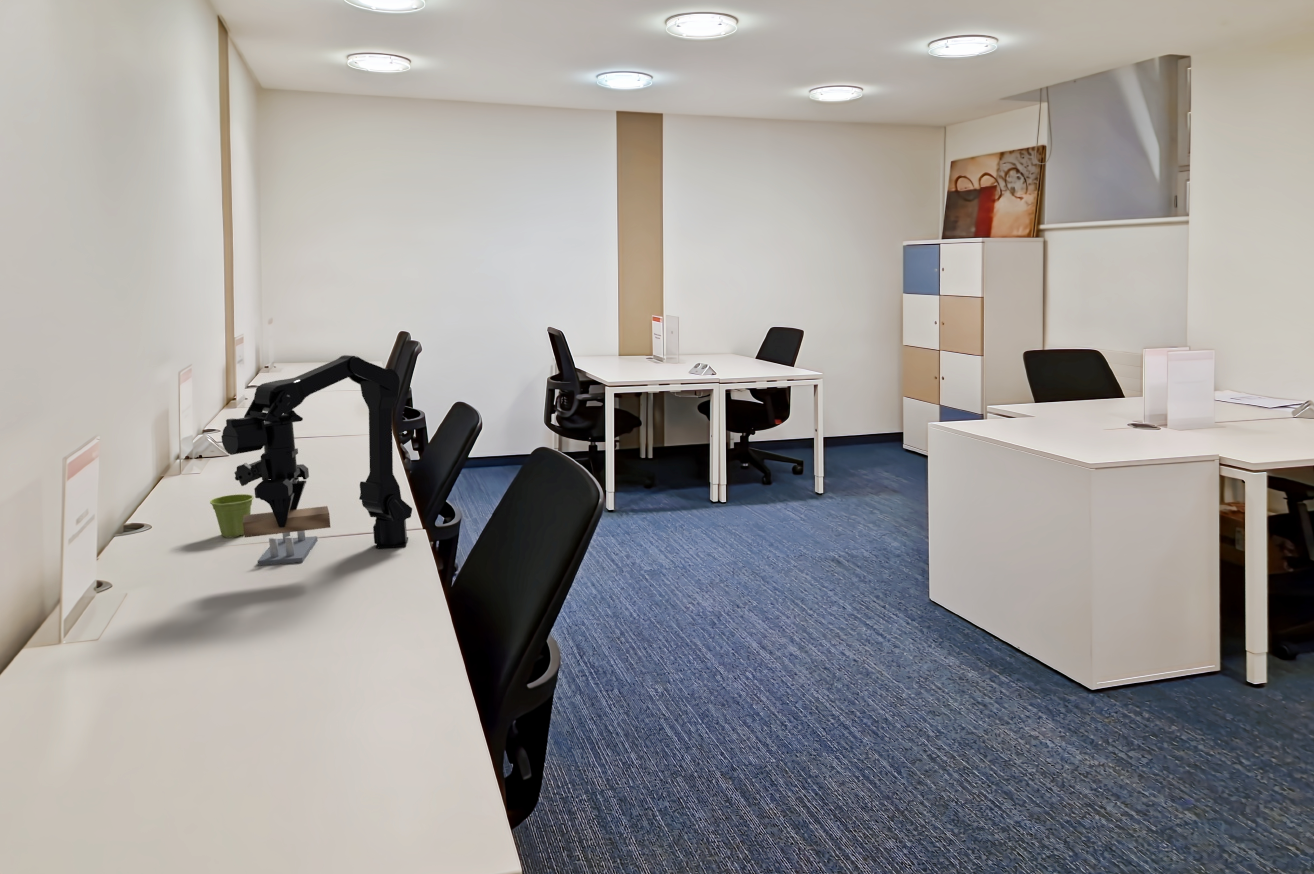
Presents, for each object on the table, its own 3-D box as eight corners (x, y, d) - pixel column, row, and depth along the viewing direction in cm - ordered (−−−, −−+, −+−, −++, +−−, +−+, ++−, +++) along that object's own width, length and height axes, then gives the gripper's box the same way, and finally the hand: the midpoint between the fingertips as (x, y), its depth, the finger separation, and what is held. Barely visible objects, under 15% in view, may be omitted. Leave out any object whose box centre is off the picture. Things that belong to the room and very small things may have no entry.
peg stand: (276, 543, 216) (274, 521, 215) (317, 540, 217) (315, 519, 217) (258, 565, 200) (255, 542, 199) (302, 562, 201) (300, 539, 200)
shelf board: (328, 520, 197) (327, 506, 197) (330, 527, 191) (329, 513, 191) (245, 529, 191) (243, 515, 191) (244, 537, 185) (242, 522, 185)
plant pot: (246, 539, 220) (242, 503, 218) (206, 540, 220) (202, 504, 218) (263, 528, 229) (260, 493, 227) (225, 529, 229) (221, 494, 228)
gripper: (250, 440, 196) (257, 513, 199) (222, 457, 178) (231, 537, 181) (306, 437, 198) (312, 510, 201) (284, 454, 180) (291, 533, 182)
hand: (286, 522), depth 191 cm, fingers closed on shelf board, 7 cm apart
